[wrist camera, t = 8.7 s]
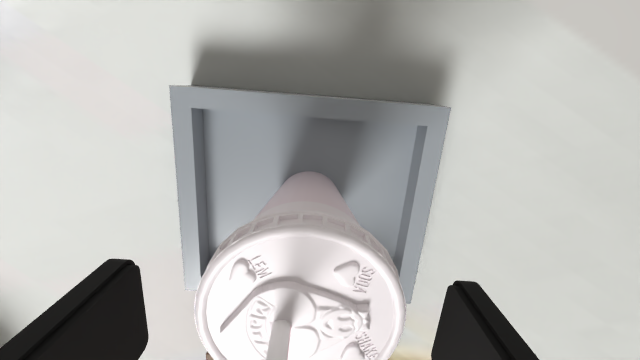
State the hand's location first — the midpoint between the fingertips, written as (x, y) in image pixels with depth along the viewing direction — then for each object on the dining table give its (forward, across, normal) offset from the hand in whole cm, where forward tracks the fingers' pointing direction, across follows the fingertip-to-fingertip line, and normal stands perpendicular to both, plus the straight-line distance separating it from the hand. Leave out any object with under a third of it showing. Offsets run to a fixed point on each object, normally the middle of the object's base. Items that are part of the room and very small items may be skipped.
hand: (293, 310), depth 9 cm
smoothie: (+10, 0, 0) cm, 10 cm away
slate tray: (+10, 0, 0) cm, 10 cm away
